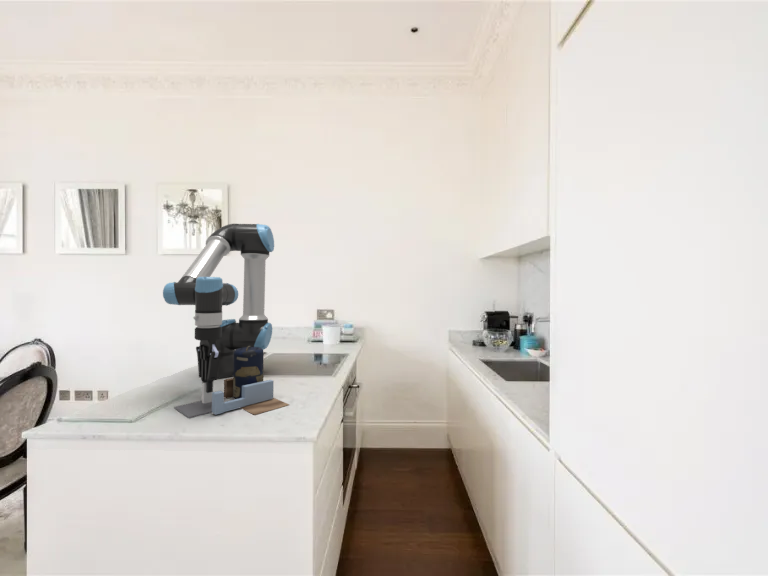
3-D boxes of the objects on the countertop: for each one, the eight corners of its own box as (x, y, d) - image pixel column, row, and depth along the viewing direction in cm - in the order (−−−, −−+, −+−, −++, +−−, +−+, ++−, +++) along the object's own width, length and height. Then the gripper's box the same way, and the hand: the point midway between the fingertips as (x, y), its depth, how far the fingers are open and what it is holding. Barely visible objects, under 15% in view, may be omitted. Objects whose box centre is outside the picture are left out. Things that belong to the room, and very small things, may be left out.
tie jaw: (211, 412, 101) (211, 392, 101) (270, 397, 115) (270, 379, 115) (215, 414, 99) (215, 394, 99) (274, 398, 114) (274, 381, 114)
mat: (173, 408, 105) (173, 406, 105) (213, 398, 114) (213, 397, 114) (188, 418, 97) (188, 417, 97) (230, 407, 106) (230, 406, 106)
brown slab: (220, 397, 115) (221, 380, 115) (254, 390, 124) (254, 373, 124) (254, 415, 101) (254, 395, 101) (289, 405, 110) (289, 386, 110)
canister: (267, 394, 119) (268, 343, 119) (255, 404, 110) (256, 348, 110) (242, 393, 120) (242, 342, 120) (227, 402, 111) (227, 347, 111)
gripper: (187, 325, 107) (186, 400, 107) (204, 329, 98) (203, 410, 99) (212, 323, 113) (211, 394, 113) (230, 327, 104) (228, 404, 104)
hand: (207, 401), depth 106 cm, fingers closed
